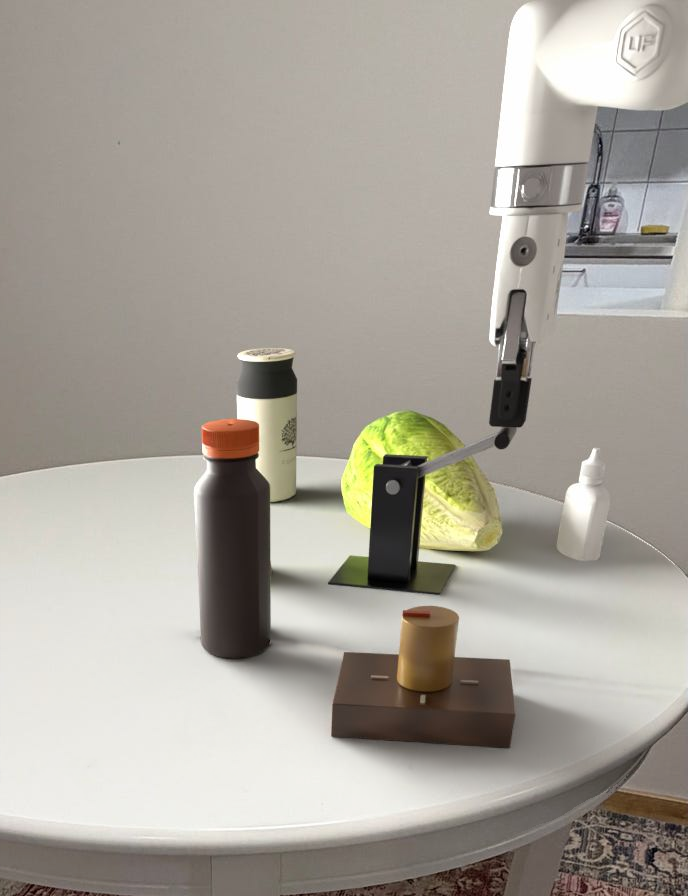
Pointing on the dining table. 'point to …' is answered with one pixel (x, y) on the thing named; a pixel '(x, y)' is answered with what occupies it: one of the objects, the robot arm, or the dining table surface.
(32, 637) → the dining table surface
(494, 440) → the faucet lever
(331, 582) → the black lever stand
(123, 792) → the dining table surface
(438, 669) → the tap knob
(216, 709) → the dining table surface
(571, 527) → the eye dropper bottle
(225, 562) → the vinegar
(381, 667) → the knob panel
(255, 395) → the travel mug
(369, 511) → the lettuce
